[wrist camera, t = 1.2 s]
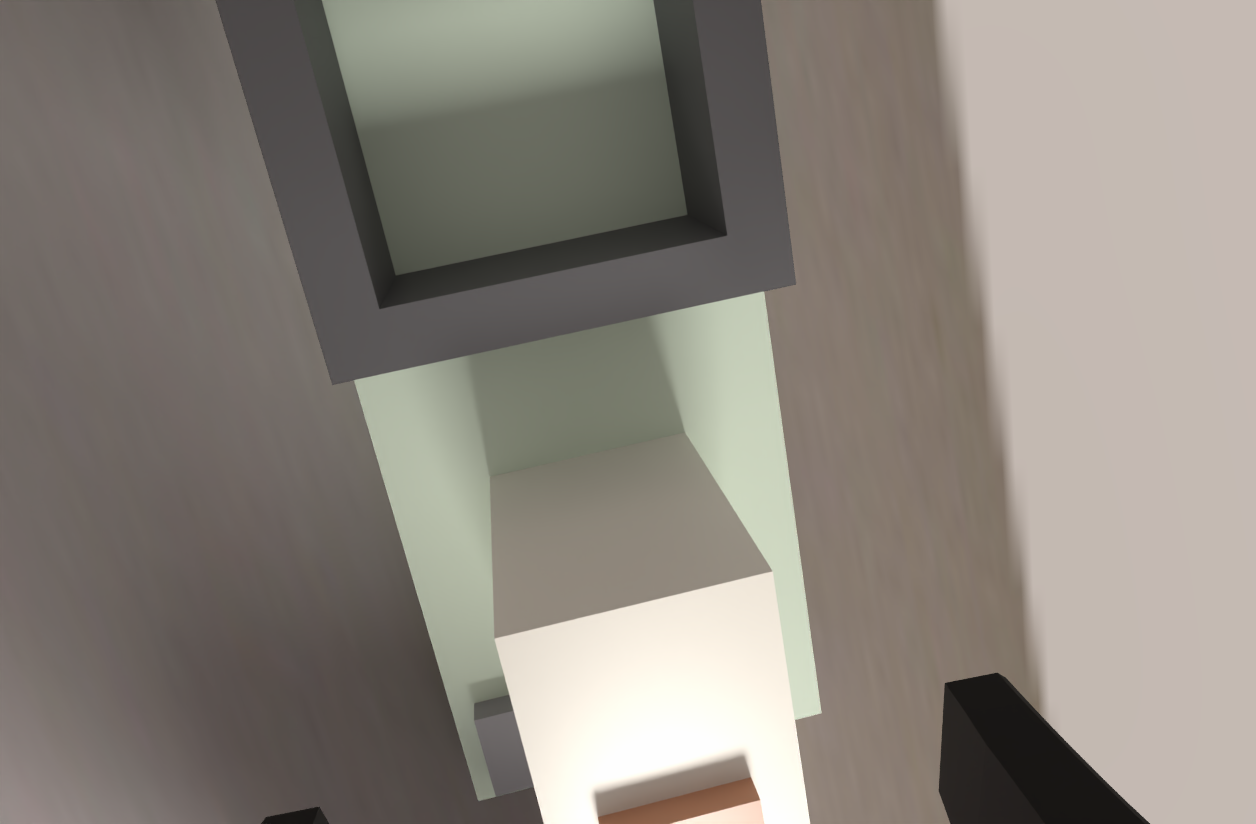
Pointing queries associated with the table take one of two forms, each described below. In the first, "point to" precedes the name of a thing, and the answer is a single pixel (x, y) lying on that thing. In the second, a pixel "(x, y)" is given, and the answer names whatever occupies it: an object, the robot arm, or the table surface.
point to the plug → (642, 643)
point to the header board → (533, 269)
